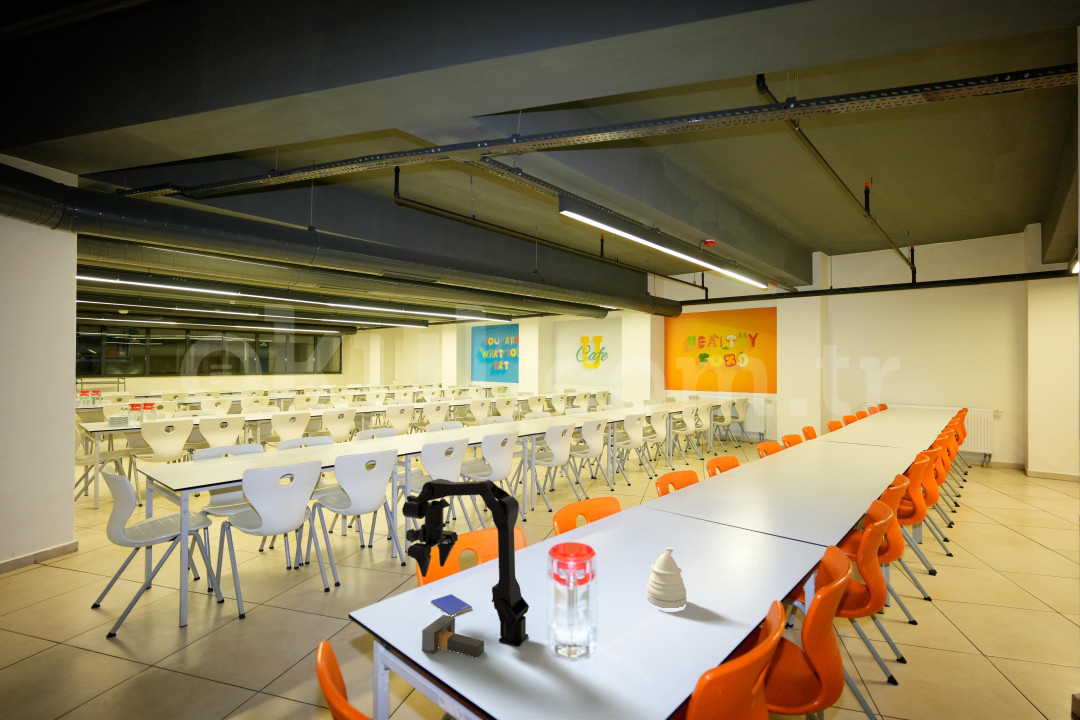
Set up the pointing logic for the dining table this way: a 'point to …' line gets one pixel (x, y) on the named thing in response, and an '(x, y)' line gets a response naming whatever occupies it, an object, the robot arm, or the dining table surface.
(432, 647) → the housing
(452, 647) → the plug
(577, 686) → the dining table surface
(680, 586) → the honey pot
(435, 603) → the hard drive
